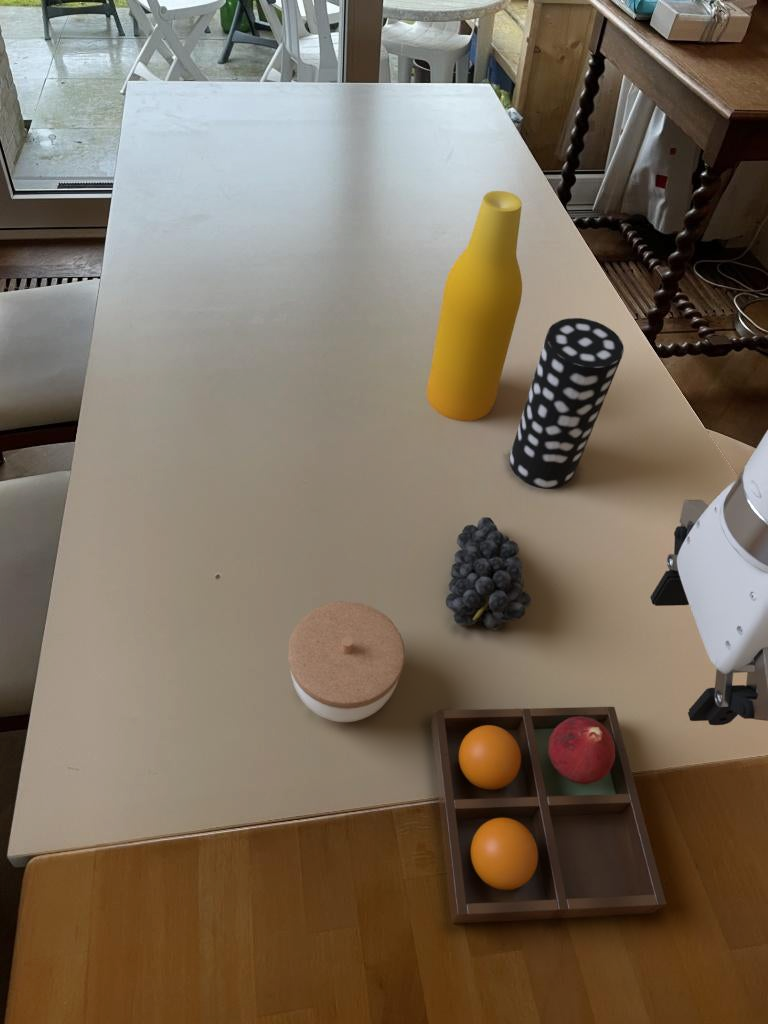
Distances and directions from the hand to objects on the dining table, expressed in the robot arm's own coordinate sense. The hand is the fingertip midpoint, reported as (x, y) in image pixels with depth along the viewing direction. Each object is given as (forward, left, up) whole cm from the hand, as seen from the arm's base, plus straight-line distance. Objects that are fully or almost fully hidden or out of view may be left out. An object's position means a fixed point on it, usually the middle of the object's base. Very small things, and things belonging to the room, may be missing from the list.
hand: (687, 656), depth 59 cm
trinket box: (+25, -8, -21) cm, 34 cm away
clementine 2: (+12, +9, -17) cm, 23 cm away
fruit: (+9, -20, -21) cm, 30 cm away
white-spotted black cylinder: (-1, -38, -21) cm, 44 cm away
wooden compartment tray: (+8, +5, -21) cm, 23 cm away
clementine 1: (+12, +1, -17) cm, 21 cm away
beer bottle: (+8, -50, -21) cm, 55 cm away
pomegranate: (+4, +1, -20) cm, 20 cm away
